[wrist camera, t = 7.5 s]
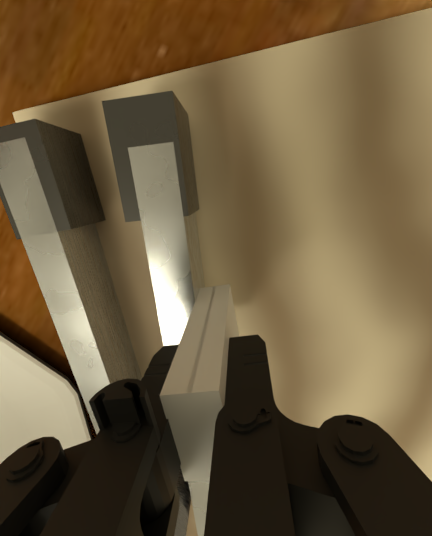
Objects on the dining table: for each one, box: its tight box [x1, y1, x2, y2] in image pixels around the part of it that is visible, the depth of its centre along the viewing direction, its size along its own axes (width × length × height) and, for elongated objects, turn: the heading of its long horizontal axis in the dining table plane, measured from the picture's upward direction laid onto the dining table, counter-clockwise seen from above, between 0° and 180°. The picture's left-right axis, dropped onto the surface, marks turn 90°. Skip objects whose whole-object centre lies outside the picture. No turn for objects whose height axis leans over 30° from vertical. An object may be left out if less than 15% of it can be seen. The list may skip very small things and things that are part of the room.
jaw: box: [102, 91, 210, 536], centre depth 14 cm, size 2×28×3 cm, turn 6°
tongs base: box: [0, 119, 191, 536], centre depth 15 cm, size 5×34×4 cm, turn 10°
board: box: [12, 8, 432, 536], centre depth 17 cm, size 20×36×1 cm, turn 10°
